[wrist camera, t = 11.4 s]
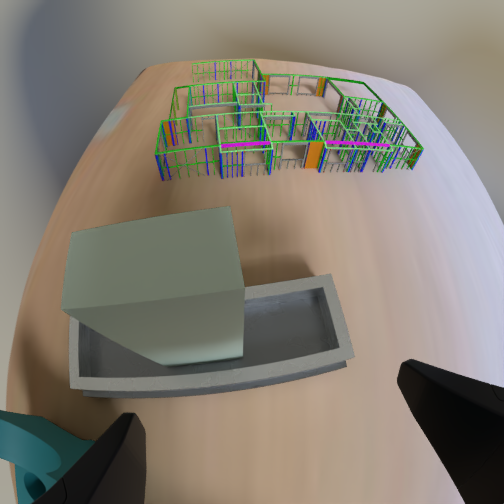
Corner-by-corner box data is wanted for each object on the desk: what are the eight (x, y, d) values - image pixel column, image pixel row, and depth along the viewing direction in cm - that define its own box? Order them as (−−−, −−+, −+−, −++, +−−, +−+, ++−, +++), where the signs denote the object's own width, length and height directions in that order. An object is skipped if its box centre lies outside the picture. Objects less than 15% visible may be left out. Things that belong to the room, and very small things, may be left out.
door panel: (236, 321, 21) (230, 205, 9) (242, 357, 20) (245, 288, 8) (163, 330, 20) (71, 232, 8) (166, 367, 19) (61, 309, 7)
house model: (162, 189, 30) (153, 158, 26) (176, 86, 45) (173, 65, 41) (413, 175, 34) (427, 152, 30) (342, 84, 49) (346, 66, 44)
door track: (319, 283, 24) (329, 268, 22) (341, 368, 20) (356, 363, 18) (88, 313, 22) (71, 301, 19) (89, 396, 18) (70, 394, 15)
